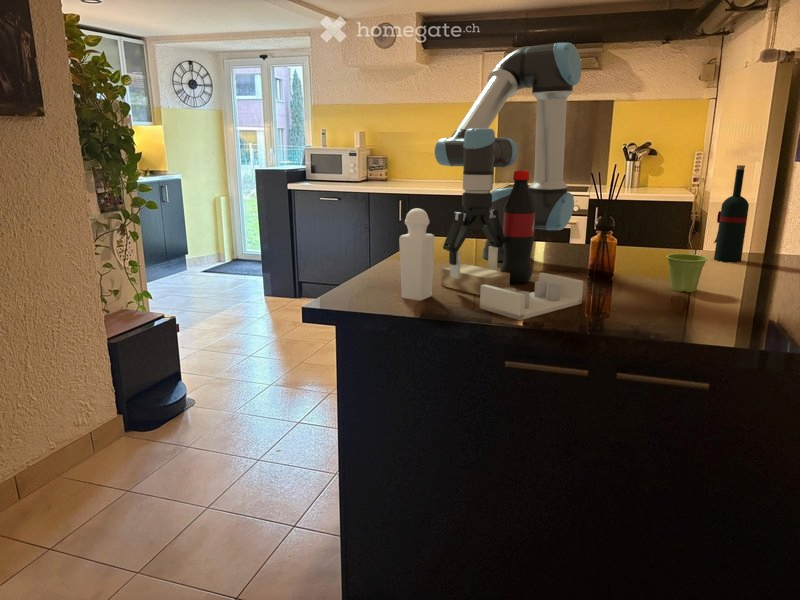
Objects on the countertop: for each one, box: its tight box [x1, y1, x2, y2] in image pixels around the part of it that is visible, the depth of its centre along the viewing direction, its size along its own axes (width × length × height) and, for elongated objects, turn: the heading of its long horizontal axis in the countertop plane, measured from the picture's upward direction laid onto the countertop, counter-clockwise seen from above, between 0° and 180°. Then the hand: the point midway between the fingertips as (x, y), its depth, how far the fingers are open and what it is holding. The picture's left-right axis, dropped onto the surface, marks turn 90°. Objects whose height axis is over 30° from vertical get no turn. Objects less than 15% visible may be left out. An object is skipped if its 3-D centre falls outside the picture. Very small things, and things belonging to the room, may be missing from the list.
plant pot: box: [666, 253, 708, 293], centre depth 150 cm, size 9×9×9 cm
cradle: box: [479, 272, 584, 321], centre depth 136 cm, size 22×12×6 cm, turn 127°
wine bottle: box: [713, 164, 750, 264], centre depth 186 cm, size 8×10×30 cm
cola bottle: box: [500, 170, 536, 285], centre depth 157 cm, size 8×8×30 cm
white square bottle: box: [398, 207, 436, 302], centre depth 142 cm, size 6×6×22 cm
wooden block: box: [440, 263, 511, 296], centre depth 154 cm, size 16×9×5 cm, turn 40°
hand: (474, 274), depth 153 cm, fingers open, 13 cm apart
